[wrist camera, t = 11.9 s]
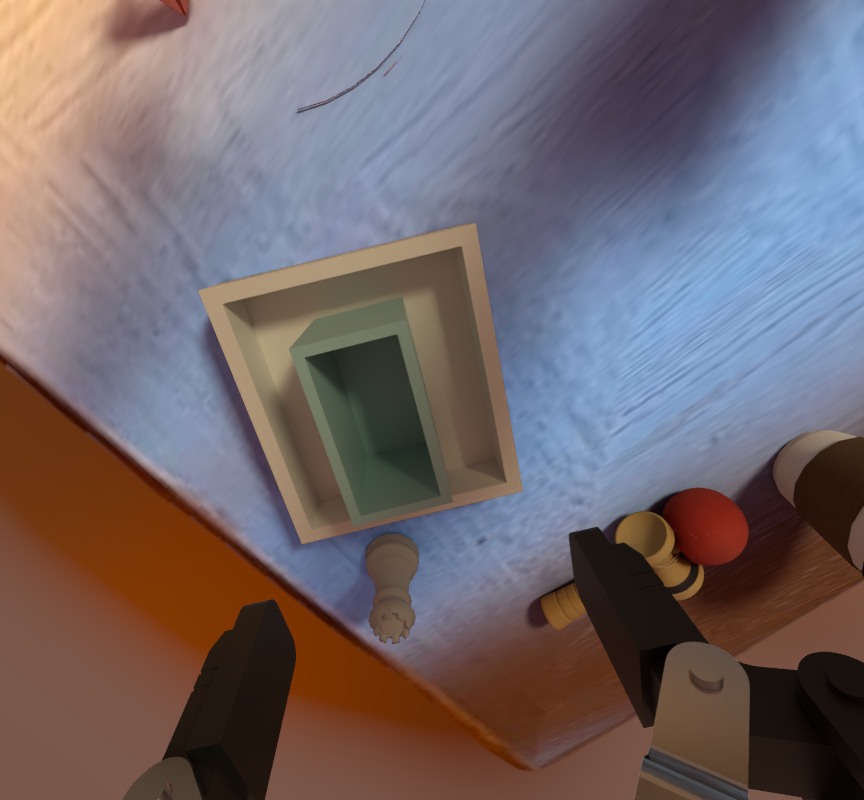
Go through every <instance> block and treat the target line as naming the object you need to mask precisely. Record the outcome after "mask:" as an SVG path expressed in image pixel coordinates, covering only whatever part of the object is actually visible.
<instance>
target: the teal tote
mask: <svg viewBox="0 0 864 800" xmlns="http://www.w3.org/2000/svg"><path fill="white" fill-rule="evenodd" d="M289 351H290V354H291V357H292V360H293V362H294V365H295V368H296V370H297V373H298V376H299V379H300V381H301V384H302V387H303V390H304V392H305V395H306V398H307V401H308V403H309V406H310V409H311V412H312V414H313V417H314V420H315V423H316V425H317V428H318V431H319V434H320V436H321V439H322V442H323V445H324V447H325V450H326V453H327V456H328V458H329V461H330V464H331V467H332V469H333V472H334V475H335V478H336V480H337V483H338V486H339V489H340V491H341V494H342V497H343V500H344V502H345V505H346V508H347V511H348V513H349V516H350V519H351V522H352V524H353V527H356V526H360V525H364V524H368V523H372V522H376V521H380V520H384V519H388V518H392V517H396V516H400V515H404V514H408V513H412V512H416V511H420V510H424V509H428V508H432V507H436V506H440V505H444V504H448V503H452V502H453V499H452V495H451V490H450V486H449V481H448V477H447V472H446V468H445V463H444V459H443V454H442V450H441V445H440V441H439V437H438V433H437V429H436V425H435V421H434V418H433V414H432V410H431V406H430V402H429V398H428V394H427V390H426V386H425V382H424V379H423V375H422V371H421V367H420V363H419V359H418V355H417V351H416V347H415V344H414V340H413V336H412V332H411V328H410V324H409V320H408V316H407V312H406V308H405V305H404V301H403V297H400V298H396V299H392V300H388V301H384V302H380V303H376V304H373V305H369V306H365V307H361V308H357V309H353V310H349V311H345V312H341V313H337V314H333V315H329V316H325V317H321V318H317V319H314V320H313V322H312V323H311V324H310V325H309V326H308V327H307V328H306V330H305V331H304V332H303V333H302V334H301V335H300V337H299V338H298V339H297V340H296V341H295V342H294V344H293V345H292V346H291V347H290V348H289Z"/></svg>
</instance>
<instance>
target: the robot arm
mask: <svg viewBox="0 0 864 800" xmlns="http://www.w3.org/2000/svg"><path fill="white" fill-rule="evenodd" d="M569 542H570V550H571V558H572V566H573V574H574V580H575V584H576V588H577V591H578V594H579V597H580V599H581V601H582V603H583V606H584V608H585V610H586V612H587V614H588V616H589V618H590V620H591V622H592V624H593V626H594V628H595V630H596V632H597V634H598V636H599V638H600V640H601V642H602V644H603V646H604V648H605V650H606V652H607V654H608V656H609V658H610V661H611V663H612V665H613V667H614V669H615V671H616V673H617V675H618V677H619V679H620V681H621V683H622V685H623V687H624V689H625V691H626V693H627V695H628V697H629V699H630V701H631V703H632V705H633V707H634V709H635V711H636V713H637V715H638V718H639V720H640V722H641V724H642V726H643V728H647V727H651V726H654V728H653V733H652V740H651V745H650V749H649V753H648V755H646V756H645V757H644V759H643V763H642V767H641V771H640V776H639V781H638V786H637V792H636V797H635V800H748V789H754V790H761V791H767V792H773V793H779V794H785V795H791V796H798V797H802V799H803V800H864V663H863V662H861V661H859V660H857V659H854V658H852V657H849V656H846V655H842V654H838V653H832V652H816V653H812V654H809V655H807V656H805V657H804V658H803V659H802V660H801V661H800V663H799V666H798V670H789V669H778V668H767V667H758V666H751V665H747V664H744V663H741V662H738V661H736V659H734V658H733V657H732V656H731V655H730V654H728V653H727V652H725V651H724V650H722V649H720V648H718V647H716V646H713V645H711V644H709V643H708V642H707V640H706V639H705V638H704V637H703V635H702V634H701V633H700V631H699V630H698V629H697V627H696V626H695V625H694V623H693V622H692V621H691V619H690V618H689V617H688V615H687V614H686V613H685V611H684V610H683V609H682V607H681V606H680V605H679V603H678V602H677V600H676V599H675V598H674V596H673V595H672V594H671V592H670V591H669V590H668V588H667V587H665V586H664V583H663V582H662V580H661V579H660V578H659V576H658V575H657V574H656V573H655V572H654V570H653V568H652V567H651V566H650V564H649V563H648V561H647V560H646V559H645V557H644V556H643V555H642V554H641V553H640V552H638V551H637V550H635V549H633V548H632V547H630V546H629V545H627V544H626V543H624V542H623V543H618V544H614V545H610V543H609V542H608V540H607V539H606V537H605V536H604V534H603V533H602V531H601V530H600V529H599V528H598V527H594V528H590V529H585V530H581V531H576V532H572V533H570V534H569ZM295 662H296V650H295V644H294V640H293V637H292V635H291V633H290V631H289V628H288V626H287V624H286V622H285V620H284V618H283V615H282V613H281V611H280V609H279V607H278V605H277V603H276V602H275V601H274V600H267V601H263V602H259V603H254V604H250V605H246V606H244V607H243V608H242V609H241V611H240V613H239V615H238V618H237V620H236V623H235V626H234V628H233V630H229V631H225V632H224V633H223V635H222V636H221V637H220V638H219V639H218V641H217V642H216V643H215V645H214V646H213V647H212V648H211V650H210V651H209V653H208V656H207V658H206V660H205V662H204V665H203V667H202V669H201V675H199V676H198V679H197V681H196V683H195V686H194V691H193V692H191V695H190V697H189V699H188V702H187V704H186V706H185V709H184V711H183V713H182V716H181V718H180V720H179V722H178V725H177V727H176V729H175V732H174V734H173V736H172V739H171V741H170V743H169V746H168V748H167V750H166V753H165V755H164V757H163V759H162V761H160V762H158V763H157V764H155V765H153V766H152V767H151V768H149V769H148V770H147V771H146V772H144V773H143V774H142V775H141V776H140V777H139V778H138V779H137V780H136V781H135V782H134V783H133V785H132V786H131V787H130V788H129V790H128V791H127V793H126V794H125V796H124V798H123V799H122V800H265V796H266V792H267V787H268V783H269V778H270V774H271V769H272V765H273V760H274V756H275V752H276V747H277V743H278V738H279V734H280V730H281V725H282V721H283V716H284V712H285V708H286V703H287V698H288V694H289V690H290V686H291V681H292V677H293V672H294V668H295Z"/></svg>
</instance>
